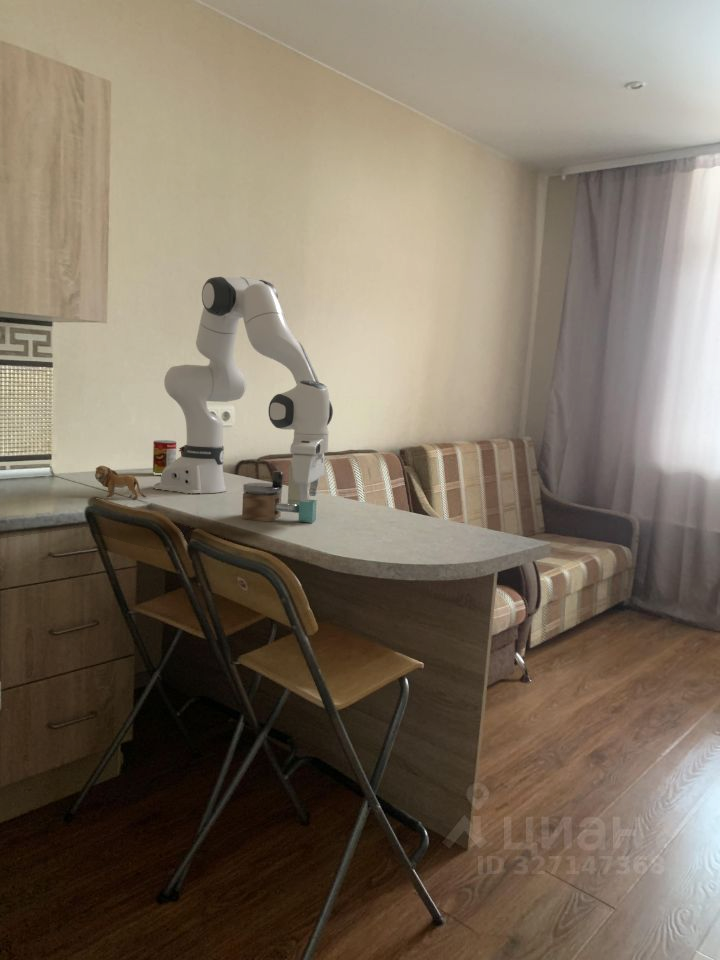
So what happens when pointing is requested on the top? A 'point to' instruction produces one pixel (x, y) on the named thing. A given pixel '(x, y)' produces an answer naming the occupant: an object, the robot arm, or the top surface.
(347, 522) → the top surface
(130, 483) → the lion figurine
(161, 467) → the canned food
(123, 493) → the top surface
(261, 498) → the block
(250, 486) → the handwheel
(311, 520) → the teal and grey bar
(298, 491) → the skincare box
